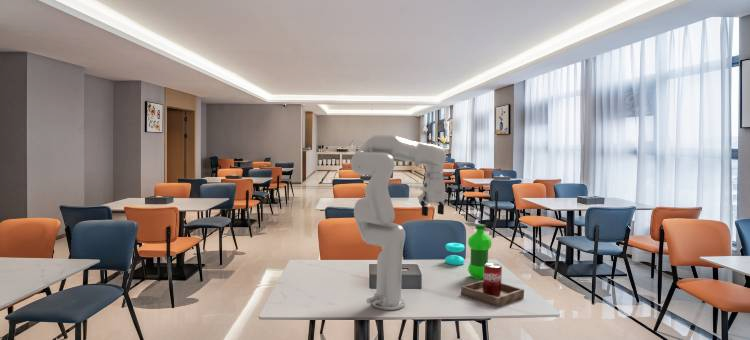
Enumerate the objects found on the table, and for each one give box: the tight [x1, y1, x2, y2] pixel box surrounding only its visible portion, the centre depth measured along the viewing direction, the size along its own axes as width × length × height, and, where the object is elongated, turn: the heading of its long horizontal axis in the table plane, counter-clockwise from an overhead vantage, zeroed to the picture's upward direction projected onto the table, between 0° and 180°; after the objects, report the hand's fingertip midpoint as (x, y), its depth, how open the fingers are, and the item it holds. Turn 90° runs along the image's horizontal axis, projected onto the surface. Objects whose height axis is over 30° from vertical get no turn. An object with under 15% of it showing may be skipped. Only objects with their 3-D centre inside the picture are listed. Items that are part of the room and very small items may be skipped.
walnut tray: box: [460, 279, 525, 308], centre depth 188 cm, size 18×18×4 cm
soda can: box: [482, 262, 503, 296], centre depth 188 cm, size 7×7×12 cm
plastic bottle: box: [467, 223, 492, 280], centre depth 214 cm, size 10×10×25 cm
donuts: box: [444, 242, 465, 266], centre depth 239 cm, size 10×10×10 cm
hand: (432, 214), depth 201 cm, fingers open, 9 cm apart
